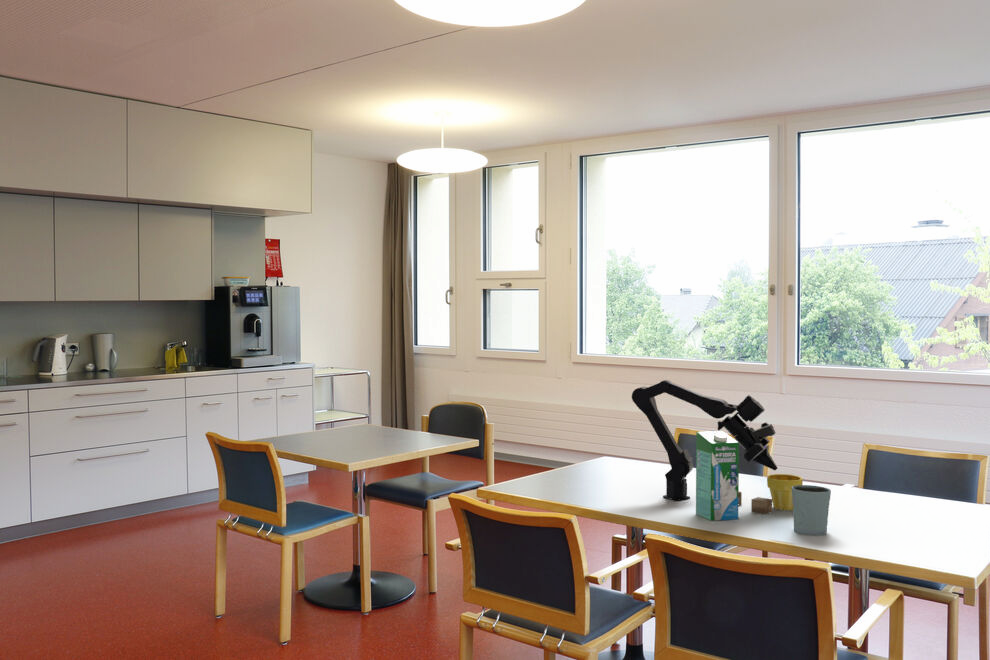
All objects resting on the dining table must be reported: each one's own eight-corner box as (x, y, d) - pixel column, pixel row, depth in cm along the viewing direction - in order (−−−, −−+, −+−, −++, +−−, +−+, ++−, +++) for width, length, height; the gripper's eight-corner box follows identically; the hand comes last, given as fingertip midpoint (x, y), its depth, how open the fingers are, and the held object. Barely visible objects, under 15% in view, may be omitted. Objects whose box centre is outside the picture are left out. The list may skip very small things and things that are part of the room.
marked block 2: (765, 514, 245) (765, 500, 245) (751, 512, 248) (751, 498, 248) (772, 512, 248) (772, 498, 248) (758, 509, 251) (758, 496, 251)
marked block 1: (728, 505, 257) (728, 492, 257) (721, 502, 261) (721, 489, 261) (741, 504, 258) (741, 491, 258) (733, 501, 263) (733, 488, 263)
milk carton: (711, 521, 237) (711, 435, 236) (695, 513, 245) (696, 431, 245) (738, 519, 239) (739, 434, 239) (722, 512, 248) (722, 430, 247)
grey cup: (784, 531, 226) (785, 488, 225) (801, 524, 233) (801, 483, 232) (820, 538, 218) (821, 493, 218) (836, 531, 225) (837, 488, 225)
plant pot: (778, 512, 247) (778, 480, 247) (760, 505, 257) (760, 474, 257) (809, 511, 249) (809, 479, 249) (790, 503, 259) (790, 473, 259)
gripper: (756, 418, 247) (793, 457, 243) (763, 411, 264) (798, 448, 260) (728, 441, 251) (765, 481, 246) (737, 434, 268) (772, 470, 263)
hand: (776, 469), depth 254 cm, fingers closed
